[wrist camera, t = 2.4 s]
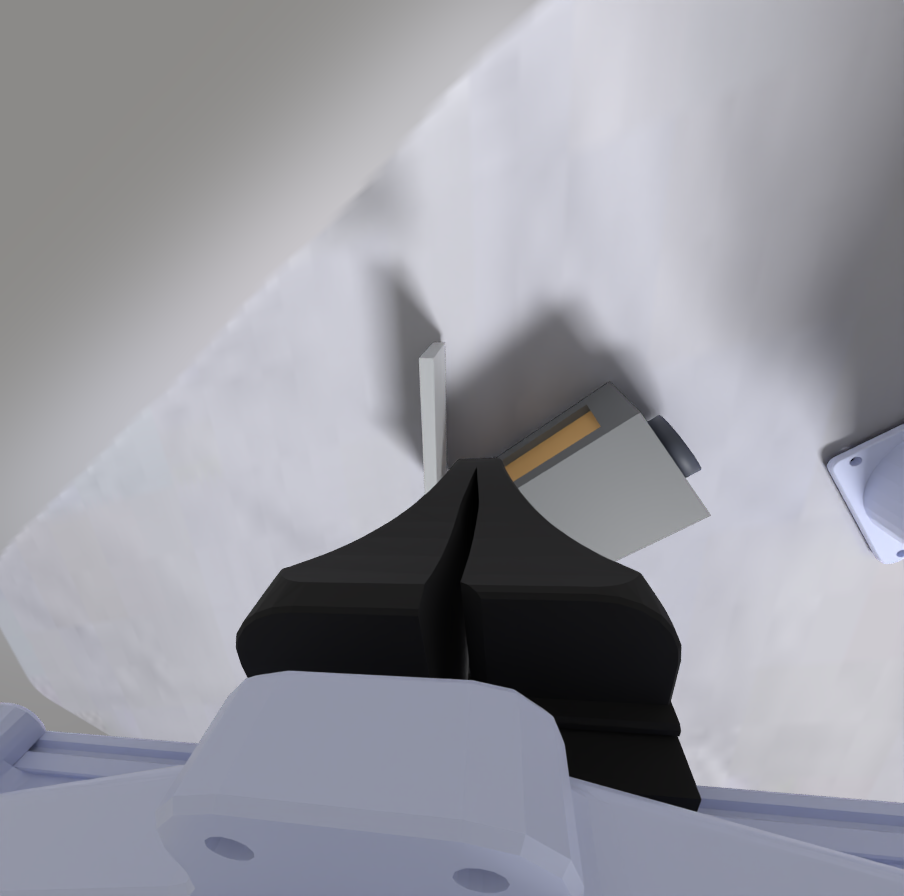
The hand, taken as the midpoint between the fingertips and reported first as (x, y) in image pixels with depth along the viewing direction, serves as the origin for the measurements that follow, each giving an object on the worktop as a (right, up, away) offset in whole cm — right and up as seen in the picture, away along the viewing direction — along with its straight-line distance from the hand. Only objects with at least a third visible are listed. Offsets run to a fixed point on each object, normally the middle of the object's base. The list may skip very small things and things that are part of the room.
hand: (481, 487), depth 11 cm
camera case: (+5, 0, +10) cm, 11 cm away
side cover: (-2, +3, +9) cm, 9 cm away
